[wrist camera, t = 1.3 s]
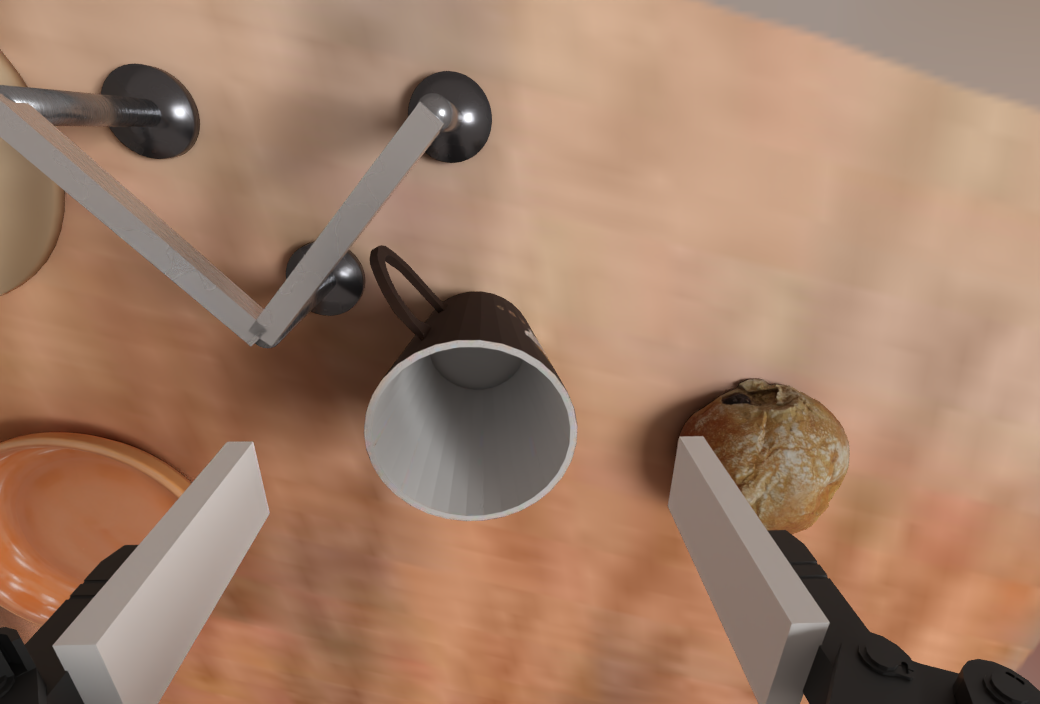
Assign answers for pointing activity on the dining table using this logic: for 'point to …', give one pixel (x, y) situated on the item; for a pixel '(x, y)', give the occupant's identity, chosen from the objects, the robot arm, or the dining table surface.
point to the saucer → (72, 512)
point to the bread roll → (776, 450)
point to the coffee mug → (467, 407)
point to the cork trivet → (24, 208)
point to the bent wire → (174, 130)
